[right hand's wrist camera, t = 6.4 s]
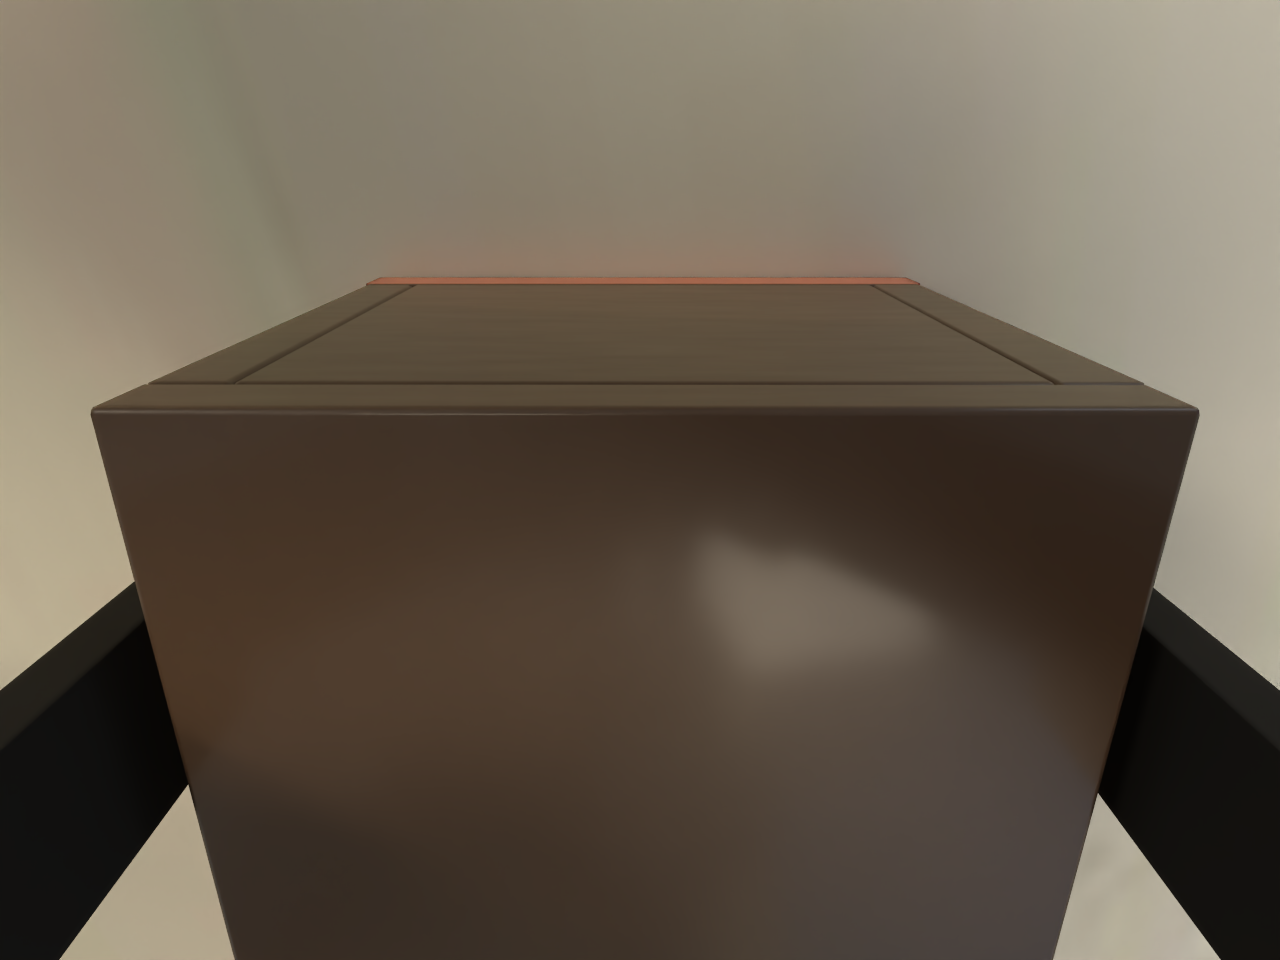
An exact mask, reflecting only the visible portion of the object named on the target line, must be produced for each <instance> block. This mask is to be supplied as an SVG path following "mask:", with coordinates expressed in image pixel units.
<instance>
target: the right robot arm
mask: <svg viewBox="0 0 1280 960" xmlns="http://www.w3.org/2000/svg"><path fill="white" fill-rule="evenodd" d="M187 785H188V781H187V777H186V773H185V769H184V766H183V762H182V758H181V754H180V750H179V747H178V743H177V739H176V735H175V732H174V728H173V724H172V720H171V716H170V713H169V709H168V705H167V701H166V698H165V694H164V690H163V686H162V682H161V679H160V675H159V671H158V667H157V663H156V660H155V656H154V652H153V648H152V645H151V641H150V637H149V633H148V629H147V626H146V622H145V618H144V614H143V611H142V607H141V603H140V599H139V595H138V592H137V588H136V584H135V581H134V582H133V583H132V584H131V585H130V586H128V587H127V588H126V589H125V590H123V591H122V592H121V593H120V594H118V595H117V596H116V597H115V598H114V599H112V600H111V601H110V602H109V603H107V604H106V605H105V606H104V607H102V608H101V609H100V610H99V611H98V612H96V613H95V614H94V615H93V616H91V617H90V618H89V619H88V620H86V621H85V622H84V623H83V624H82V625H80V626H79V627H78V628H77V629H75V630H74V631H73V632H72V633H70V634H69V635H68V636H67V637H66V638H64V639H63V640H62V641H61V642H59V643H58V644H57V645H56V646H54V647H53V648H52V649H51V650H50V651H48V652H47V653H46V654H45V655H43V656H42V657H41V658H40V659H39V660H37V661H36V662H35V663H34V664H32V665H31V666H30V667H29V668H27V669H26V670H25V671H24V672H23V673H21V674H20V675H19V676H18V677H16V678H15V679H14V680H13V681H11V682H10V683H9V684H8V685H7V686H5V687H4V688H3V689H2V690H0V960H59V959H60V958H61V956H62V955H63V954H64V952H65V951H66V950H67V948H68V947H69V946H70V944H71V943H72V941H73V940H74V939H75V937H76V936H77V935H78V933H79V932H80V931H81V929H82V928H83V927H84V925H85V924H86V922H87V921H88V920H89V918H90V917H91V916H92V914H93V913H94V912H95V910H96V909H97V907H98V906H99V905H100V903H101V902H102V901H103V899H104V898H105V897H106V895H107V894H108V893H109V891H110V890H111V888H112V887H113V886H114V884H115V883H116V882H117V880H118V879H119V878H120V876H121V875H122V874H123V872H124V871H125V869H126V868H127V867H128V865H129V864H130V863H131V861H132V860H133V859H134V857H135V856H136V855H137V853H138V852H139V850H140V849H141V848H142V846H143V845H144V844H145V842H146V841H147V840H148V838H149V837H150V835H151V834H152V833H153V831H154V830H155V829H156V827H157V826H158V825H159V823H160V822H161V821H162V819H163V818H164V816H165V815H166V814H167V812H168V811H169V810H170V808H171V807H172V806H173V804H174V803H175V802H176V800H177V799H178V797H179V796H180V795H181V793H182V792H183V791H184V789H185V788H186V787H187ZM1098 793H1099V795H1100V796H1101V797H1102V799H1103V800H1104V802H1105V803H1106V804H1107V806H1108V807H1109V808H1110V810H1111V811H1112V812H1113V814H1114V815H1115V816H1116V818H1117V819H1118V821H1119V822H1120V823H1121V825H1122V826H1123V827H1124V829H1125V830H1126V831H1127V833H1128V834H1129V835H1130V837H1131V838H1132V840H1133V841H1134V842H1135V844H1136V845H1137V846H1138V848H1139V849H1140V850H1141V852H1142V853H1143V855H1144V856H1145V857H1146V859H1147V860H1148V861H1149V863H1150V864H1151V865H1152V867H1153V868H1154V869H1155V871H1156V872H1157V874H1158V875H1159V876H1160V878H1161V879H1162V880H1163V882H1164V883H1165V884H1166V886H1167V887H1168V888H1169V890H1170V891H1171V893H1172V894H1173V895H1174V897H1175V898H1176V899H1177V901H1178V902H1179V903H1180V905H1181V906H1182V907H1183V909H1184V910H1185V912H1186V913H1187V914H1188V916H1189V917H1190V918H1191V920H1192V921H1193V922H1194V924H1195V925H1196V927H1197V928H1198V929H1199V931H1200V932H1201V933H1202V935H1203V936H1204V937H1205V939H1206V940H1207V941H1208V943H1209V944H1210V946H1211V947H1212V948H1213V950H1214V951H1215V952H1216V954H1217V955H1218V956H1219V958H1220V959H1221V960H1280V690H1278V689H1277V688H1276V687H1275V686H1273V685H1272V684H1271V683H1270V682H1269V681H1267V680H1266V679H1265V678H1264V677H1262V676H1261V675H1260V674H1259V673H1257V672H1256V671H1255V670H1254V669H1253V668H1251V667H1250V666H1249V665H1248V664H1246V663H1245V662H1244V661H1243V660H1241V659H1240V658H1239V657H1238V656H1237V655H1235V654H1234V653H1233V652H1232V651H1230V650H1229V649H1228V648H1227V647H1226V646H1224V645H1223V644H1222V643H1221V642H1219V641H1218V640H1217V639H1216V638H1214V637H1213V636H1212V635H1211V634H1210V633H1208V632H1207V631H1206V630H1205V629H1203V628H1202V627H1201V626H1200V625H1198V624H1197V623H1196V622H1195V621H1194V620H1192V619H1191V618H1190V617H1189V616H1187V615H1186V614H1185V613H1184V612H1182V611H1181V610H1180V609H1179V608H1178V607H1176V606H1175V605H1174V604H1173V603H1171V602H1170V601H1169V600H1168V599H1166V598H1165V597H1164V596H1163V595H1162V594H1160V593H1159V592H1158V591H1157V590H1155V589H1154V588H1153V590H1152V594H1151V597H1150V601H1149V605H1148V608H1147V612H1146V616H1145V620H1144V623H1143V627H1142V631H1141V634H1140V638H1139V642H1138V646H1137V649H1136V653H1135V657H1134V660H1133V664H1132V668H1131V672H1130V675H1129V679H1128V683H1127V686H1126V690H1125V694H1124V698H1123V701H1122V705H1121V709H1120V712H1119V716H1118V720H1117V724H1116V727H1115V731H1114V735H1113V738H1112V742H1111V746H1110V750H1109V753H1108V757H1107V761H1106V764H1105V768H1104V772H1103V775H1102V779H1101V783H1100V787H1099V790H1098Z"/></svg>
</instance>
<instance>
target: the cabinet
mask: <svg viewBox="0 0 1280 960" xmlns="http://www.w3.org/2000/svg"><path fill="white" fill-rule="evenodd" d="M366 285H367V286H365V287H363V288H361V289H358V290H356V291H354V292H352V293H349V294H347V295H345V296H343V297H340V298H338V299H336V300H334V301H331V302H329V303H327V304H325V305H322V306H320V307H318V308H316V309H314V310H311V311H309V312H307V313H305V314H302V315H300V316H298V317H296V318H293V319H291V320H289V321H287V322H284V323H282V324H280V325H278V326H275V327H273V328H271V329H269V330H266V331H264V332H262V333H260V334H257V335H255V336H253V337H251V338H248V339H246V340H244V341H242V342H239V343H237V344H235V345H233V346H230V347H228V348H226V349H224V350H221V351H219V352H217V353H215V354H212V355H210V356H208V357H206V358H203V359H201V360H199V361H197V362H194V363H192V364H190V365H188V366H185V367H183V368H181V369H179V370H176V371H174V372H172V373H170V374H167V375H165V376H163V377H161V378H158V379H156V380H154V381H152V382H149V383H148V385H142V386H140V387H138V388H136V389H133V390H131V391H129V392H127V393H124V394H122V395H120V396H118V397H115V398H113V399H111V400H109V401H106V402H104V403H102V404H100V405H97V406H95V407H93V408H92V410H91V418H92V422H93V425H94V429H95V433H96V437H97V440H98V444H99V448H100V452H101V456H102V459H103V463H104V467H105V471H106V474H107V478H108V482H109V486H110V490H111V493H112V497H113V501H114V505H115V508H116V512H117V516H118V520H119V524H120V527H121V531H122V535H123V539H124V543H125V546H126V550H127V554H128V558H129V561H130V565H131V569H132V573H133V577H134V580H135V584H136V588H137V592H138V595H139V599H140V603H141V607H142V611H143V614H144V618H145V622H146V626H147V629H148V633H149V637H150V641H151V645H152V648H153V652H154V656H155V660H156V663H157V667H158V671H159V675H160V679H161V682H162V686H163V690H164V694H165V698H166V701H167V705H168V709H169V713H170V716H171V720H172V724H173V728H174V732H175V735H176V739H177V743H178V747H179V750H180V754H181V758H182V762H183V766H184V769H185V773H186V777H187V781H188V784H189V788H190V792H191V796H192V800H193V803H194V807H195V811H196V815H197V818H198V822H199V826H200V830H201V834H202V837H203V841H204V845H205V849H206V853H207V856H208V860H209V864H210V868H211V871H212V875H213V879H214V883H215V887H216V890H217V894H218V898H219V902H220V905H221V909H222V913H223V917H224V921H225V924H226V928H227V932H228V936H229V939H230V943H231V947H232V951H233V955H234V958H235V960H1053V957H1054V954H1055V950H1056V946H1057V942H1058V939H1059V935H1060V931H1061V928H1062V924H1063V920H1064V916H1065V913H1066V909H1067V905H1068V902H1069V898H1070V894H1071V891H1072V887H1073V883H1074V879H1075V876H1076V872H1077V868H1078V865H1079V861H1080V857H1081V853H1082V850H1083V846H1084V842H1085V839H1086V835H1087V831H1088V827H1089V824H1090V820H1091V816H1092V813H1093V809H1094V805H1095V801H1096V798H1097V794H1098V790H1099V787H1100V783H1101V779H1102V775H1103V772H1104V768H1105V764H1106V761H1107V757H1108V753H1109V750H1110V746H1111V742H1112V738H1113V735H1114V731H1115V727H1116V724H1117V720H1118V716H1119V712H1120V709H1121V705H1122V701H1123V698H1124V694H1125V690H1126V686H1127V683H1128V679H1129V675H1130V672H1131V668H1132V664H1133V660H1134V657H1135V653H1136V649H1137V646H1138V642H1139V638H1140V634H1141V631H1142V627H1143V623H1144V620H1145V616H1146V612H1147V608H1148V605H1149V601H1150V597H1151V594H1152V590H1153V586H1154V583H1155V579H1156V575H1157V571H1158V568H1159V564H1160V560H1161V557H1162V553H1163V549H1164V545H1165V542H1166V538H1167V534H1168V531H1169V527H1170V523H1171V519H1172V516H1173V512H1174V508H1175V505H1176V501H1177V497H1178V493H1179V490H1180V486H1181V482H1182V479H1183V475H1184V471H1185V467H1186V464H1187V460H1188V456H1189V453H1190V449H1191V445H1192V442H1193V438H1194V434H1195V430H1196V427H1197V423H1198V419H1199V416H1200V415H1199V410H1198V408H1196V407H1194V406H1192V405H1189V404H1187V403H1185V402H1183V401H1180V400H1178V399H1176V398H1173V397H1171V396H1169V395H1167V394H1164V393H1162V392H1160V391H1158V390H1155V389H1153V388H1151V387H1148V386H1146V385H1144V383H1142V382H1140V381H1138V380H1135V379H1133V378H1131V377H1128V376H1126V375H1124V374H1122V373H1119V372H1117V371H1115V370H1112V369H1110V368H1108V367H1106V366H1103V365H1101V364H1099V363H1096V362H1094V361H1092V360H1090V359H1087V358H1085V357H1083V356H1080V355H1078V354H1076V353H1074V352H1071V351H1069V350H1067V349H1064V348H1062V347H1060V346H1058V345H1055V344H1053V343H1051V342H1048V341H1046V340H1044V339H1042V338H1039V337H1037V336H1035V335H1032V334H1030V333H1028V332H1026V331H1023V330H1021V329H1019V328H1016V327H1014V326H1012V325H1010V324H1007V323H1005V322H1003V321H1000V320H998V319H996V318H994V317H991V316H989V315H987V314H984V313H982V312H980V311H978V310H975V309H973V308H971V307H968V306H966V305H964V304H962V303H959V302H957V301H955V300H952V299H950V298H948V297H946V296H943V295H941V294H939V293H936V292H934V291H932V290H930V289H927V288H925V287H923V286H920V283H917V282H915V281H913V280H910V279H908V278H378V279H376V280H373V281H371V282H369V283H367V284H366Z"/></svg>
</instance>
